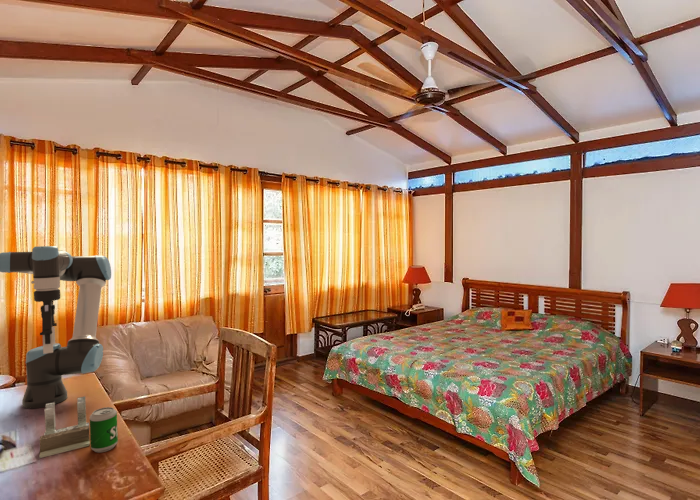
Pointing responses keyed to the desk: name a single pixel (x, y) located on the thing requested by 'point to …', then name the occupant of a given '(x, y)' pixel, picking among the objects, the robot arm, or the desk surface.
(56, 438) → the rail
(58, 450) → the mat
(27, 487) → the desk surface
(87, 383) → the desk surface
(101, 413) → the soda can
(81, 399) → the rack
